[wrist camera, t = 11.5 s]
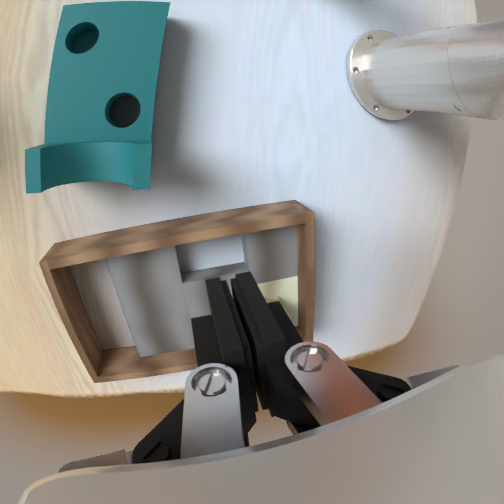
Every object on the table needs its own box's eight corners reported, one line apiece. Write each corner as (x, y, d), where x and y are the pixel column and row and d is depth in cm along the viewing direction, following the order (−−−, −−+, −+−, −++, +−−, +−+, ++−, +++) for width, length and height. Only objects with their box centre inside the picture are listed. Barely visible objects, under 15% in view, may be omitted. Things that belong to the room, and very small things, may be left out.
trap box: (295, 199, 38) (314, 212, 33) (298, 319, 45) (312, 342, 40) (54, 243, 32) (39, 262, 27) (99, 356, 40) (94, 382, 35)
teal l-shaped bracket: (148, 169, 33) (149, 189, 24) (57, 172, 29) (26, 193, 20) (166, 17, 26) (176, -19, 17) (73, 19, 22) (50, -14, 13)
